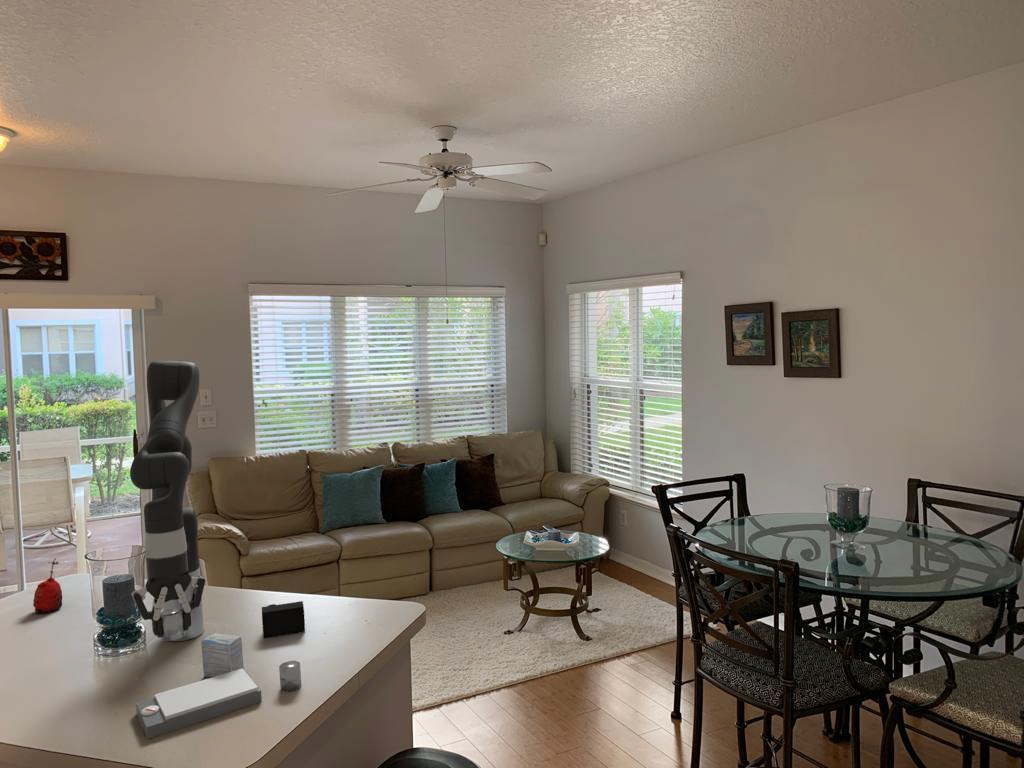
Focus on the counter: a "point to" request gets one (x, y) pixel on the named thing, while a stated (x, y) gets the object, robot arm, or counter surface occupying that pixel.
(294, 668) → the cylinder
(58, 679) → the counter surface
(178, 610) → the cylinder
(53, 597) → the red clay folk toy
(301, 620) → the digital camera
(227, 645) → the medicine box
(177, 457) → the robot arm
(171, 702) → the scale
